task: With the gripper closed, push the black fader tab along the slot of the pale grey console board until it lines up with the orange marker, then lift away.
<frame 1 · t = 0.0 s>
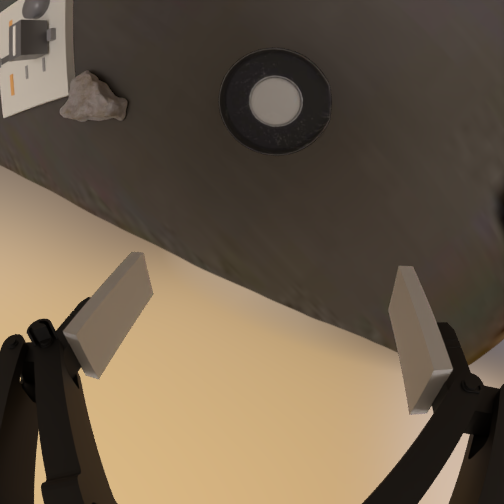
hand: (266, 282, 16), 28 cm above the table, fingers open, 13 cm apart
console: (35, 47, 36), on the table
stone: (103, 99, 40), on the table
travel mug: (290, 94, 36), on the table
fader: (28, 40, 30), point 6 cm above the table, slide at 0.0 cm
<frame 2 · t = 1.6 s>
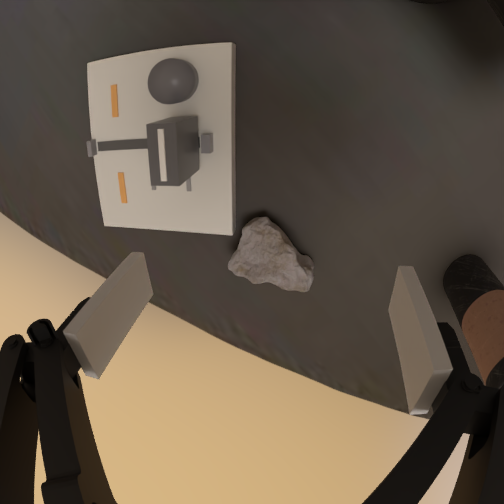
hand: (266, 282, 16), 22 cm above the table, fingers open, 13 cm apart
console: (161, 139, 36), on the table
stone: (276, 248, 41), on the table
travel mug: (464, 275, 38), on the table
fader: (174, 148, 30), point 6 cm above the table, slide at 0.0 cm
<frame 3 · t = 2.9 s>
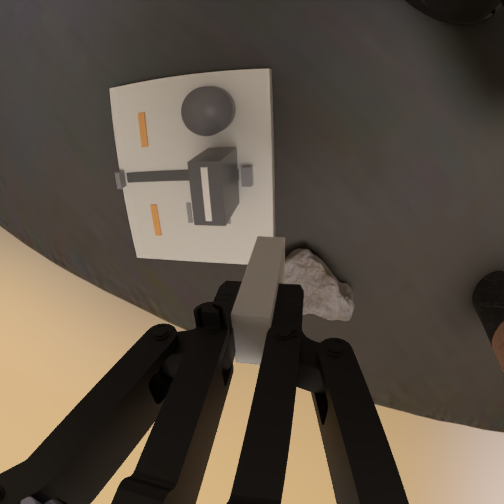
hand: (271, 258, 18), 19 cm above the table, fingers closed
console: (195, 169, 36), on the table
stone: (315, 276, 40), on the table
travel mug: (491, 291, 36), on the table
fader: (215, 184, 30), point 6 cm above the table, slide at 0.0 cm
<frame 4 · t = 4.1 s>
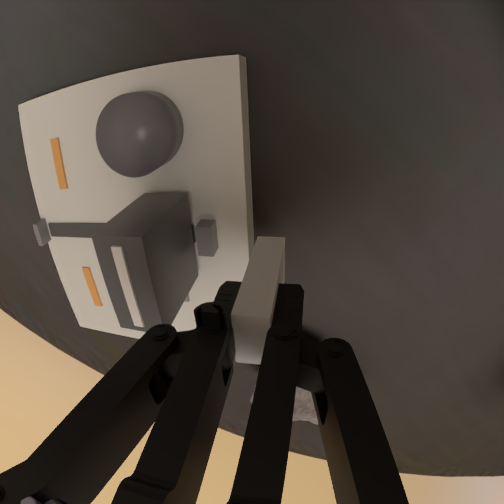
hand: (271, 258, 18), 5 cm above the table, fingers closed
console: (137, 219, 24), on the table
stone: (314, 362, 28), on the table
fader: (151, 259, 18), point 6 cm above the table, slide at 0.0 cm
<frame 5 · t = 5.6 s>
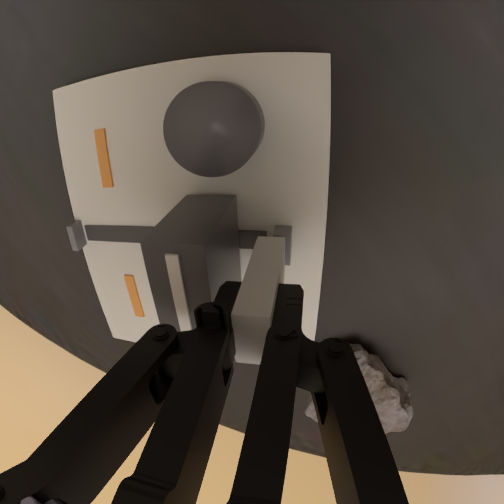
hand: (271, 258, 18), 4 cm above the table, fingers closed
console: (192, 223, 22), on the table
stone: (362, 370, 27), on the table
fader: (199, 267, 17), point 6 cm above the table, slide at 1.7 cm, touching gripper
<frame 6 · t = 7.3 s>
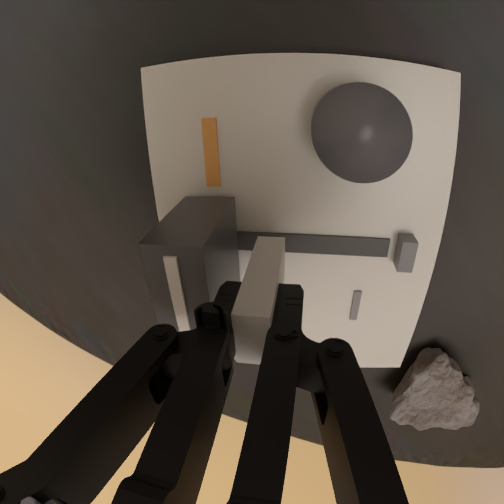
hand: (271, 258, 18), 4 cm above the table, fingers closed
console: (301, 228, 21), on the table
stone: (434, 372, 26), on the table
fader: (198, 269, 17), point 6 cm above the table, slide at 9.2 cm, touching gripper
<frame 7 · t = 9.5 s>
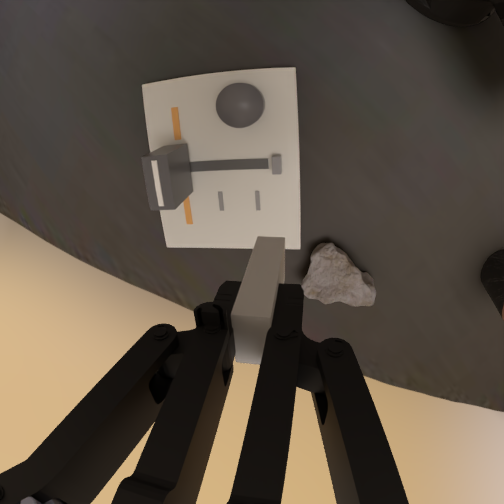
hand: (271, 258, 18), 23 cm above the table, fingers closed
console: (225, 161, 38), on the table
stone: (338, 268, 44), on the table
travel mug: (497, 269, 39), on the table
fader: (168, 175, 35), point 6 cm above the table, slide at 9.2 cm
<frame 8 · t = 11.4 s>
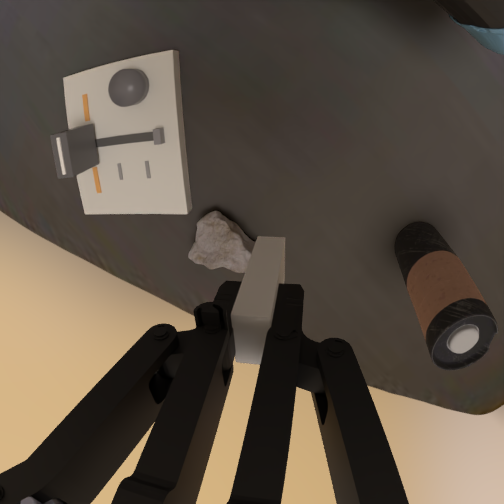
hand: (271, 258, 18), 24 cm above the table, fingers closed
console: (126, 137, 41), on the table
stone: (232, 237, 46), on the table
travel mug: (417, 243, 41), on the table
fader: (74, 150, 37), point 6 cm above the table, slide at 9.2 cm
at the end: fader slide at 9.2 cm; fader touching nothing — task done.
